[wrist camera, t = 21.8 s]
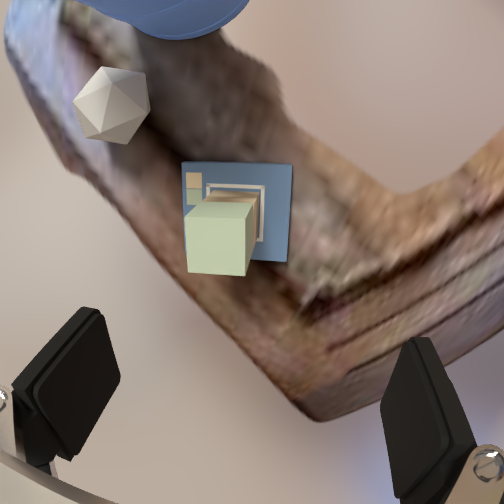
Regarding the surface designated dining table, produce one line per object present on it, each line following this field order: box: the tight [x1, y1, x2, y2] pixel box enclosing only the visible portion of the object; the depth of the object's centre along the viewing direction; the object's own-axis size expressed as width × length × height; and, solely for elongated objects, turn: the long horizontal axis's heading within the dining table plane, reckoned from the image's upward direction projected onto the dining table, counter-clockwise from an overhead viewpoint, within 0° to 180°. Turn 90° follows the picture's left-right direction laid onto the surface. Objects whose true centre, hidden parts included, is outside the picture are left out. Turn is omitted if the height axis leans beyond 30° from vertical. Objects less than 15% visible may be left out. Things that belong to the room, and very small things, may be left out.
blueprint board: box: [182, 161, 292, 262], centre depth 36 cm, size 12×11×1 cm
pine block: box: [202, 190, 259, 253], centre depth 34 cm, size 5×5×5 cm
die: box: [73, 67, 151, 145], centre depth 30 cm, size 8×9×10 cm
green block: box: [184, 202, 253, 276], centre depth 29 cm, size 5×5×5 cm
